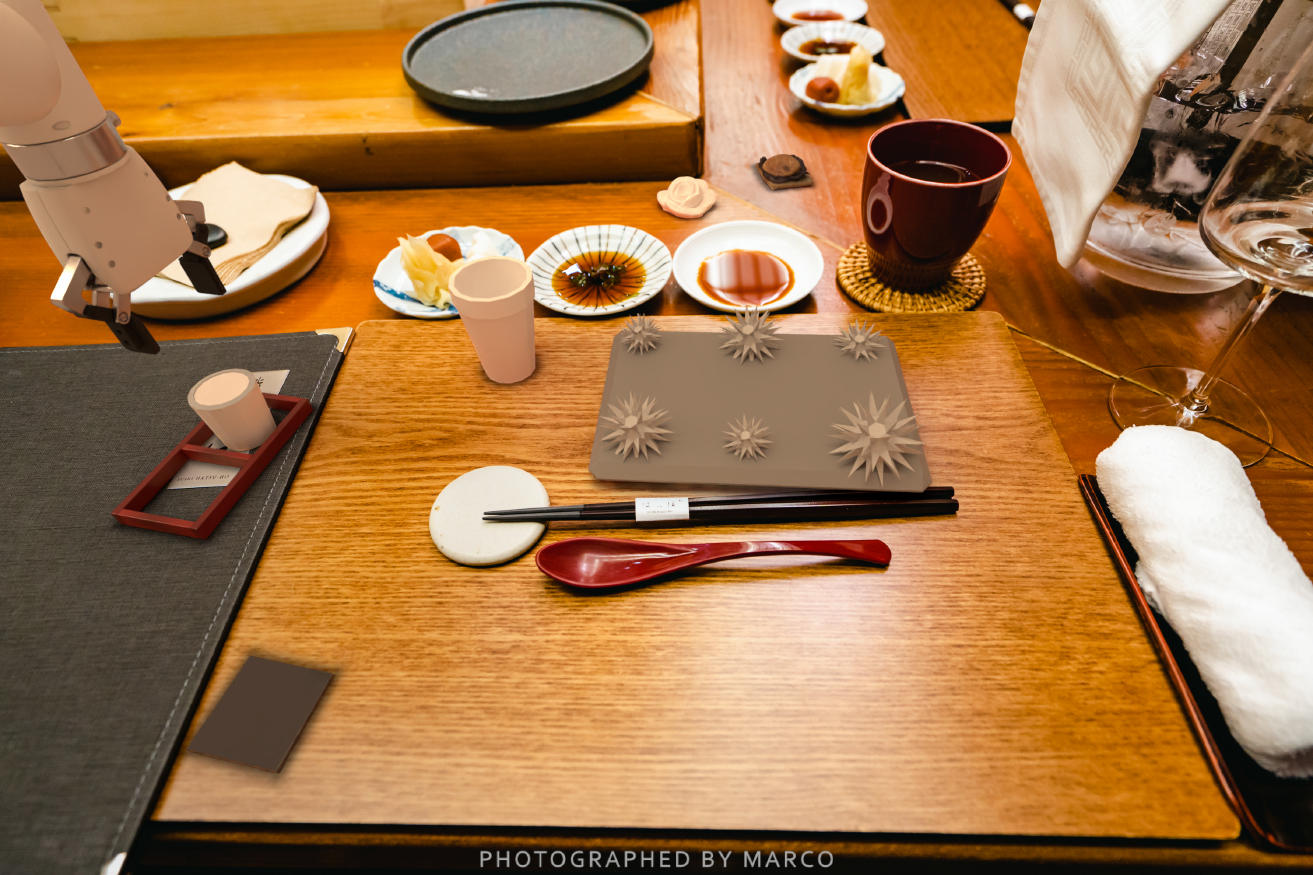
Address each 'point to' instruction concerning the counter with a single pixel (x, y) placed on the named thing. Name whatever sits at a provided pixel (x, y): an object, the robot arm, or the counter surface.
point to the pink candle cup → (233, 408)
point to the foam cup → (498, 314)
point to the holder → (193, 450)
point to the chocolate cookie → (783, 171)
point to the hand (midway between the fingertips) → (181, 320)
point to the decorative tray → (758, 410)
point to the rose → (687, 197)
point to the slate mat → (261, 714)
